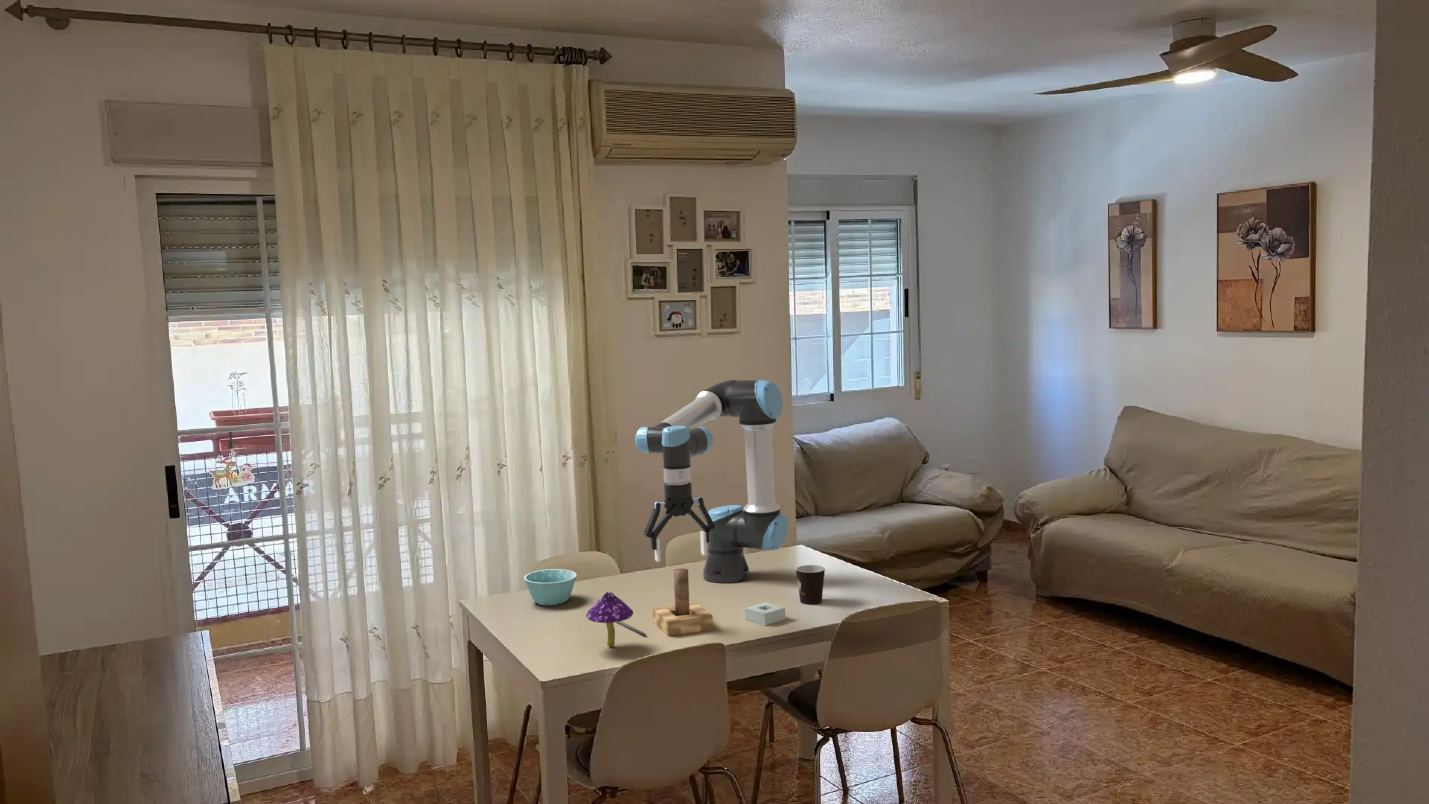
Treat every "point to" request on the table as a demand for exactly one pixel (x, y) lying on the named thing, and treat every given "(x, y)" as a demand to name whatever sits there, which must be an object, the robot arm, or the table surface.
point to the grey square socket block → (765, 613)
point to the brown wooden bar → (681, 592)
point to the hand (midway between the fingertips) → (681, 557)
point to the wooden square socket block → (683, 620)
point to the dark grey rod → (631, 628)
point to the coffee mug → (810, 583)
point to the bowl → (550, 586)
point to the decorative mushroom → (609, 613)
